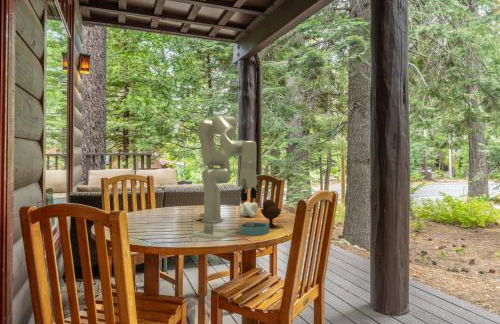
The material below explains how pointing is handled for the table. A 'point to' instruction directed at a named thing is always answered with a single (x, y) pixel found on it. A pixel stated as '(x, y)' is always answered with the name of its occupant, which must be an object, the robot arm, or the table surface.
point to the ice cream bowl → (270, 211)
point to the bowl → (254, 229)
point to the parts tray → (215, 233)
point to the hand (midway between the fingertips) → (248, 199)
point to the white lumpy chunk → (249, 209)
